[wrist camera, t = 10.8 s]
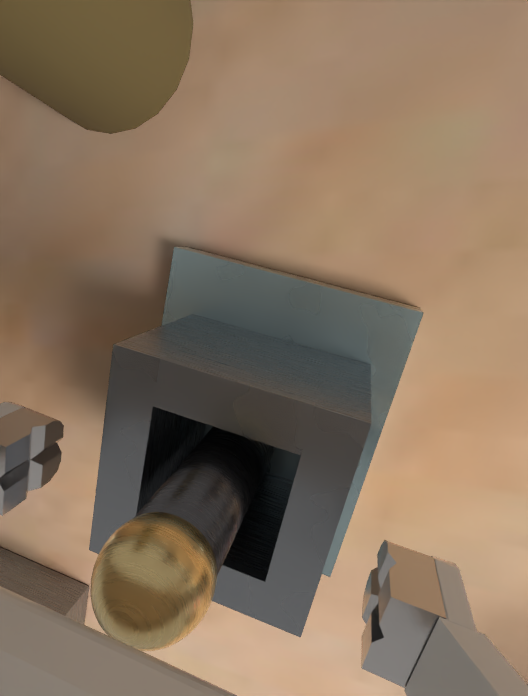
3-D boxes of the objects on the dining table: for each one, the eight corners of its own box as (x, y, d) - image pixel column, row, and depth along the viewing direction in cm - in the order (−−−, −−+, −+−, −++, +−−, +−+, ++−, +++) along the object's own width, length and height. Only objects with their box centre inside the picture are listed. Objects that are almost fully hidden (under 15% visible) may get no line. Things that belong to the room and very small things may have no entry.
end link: (192, 313, 14) (113, 344, 9) (370, 364, 13) (371, 423, 8) (165, 466, 15) (89, 550, 11) (321, 521, 14) (300, 637, 10)
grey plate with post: (187, 246, 14) (-90, 247, 6) (419, 307, 13) (520, 432, 4) (146, 486, 17) (-78, 727, 9) (332, 557, 16) (288, 929, 7)
